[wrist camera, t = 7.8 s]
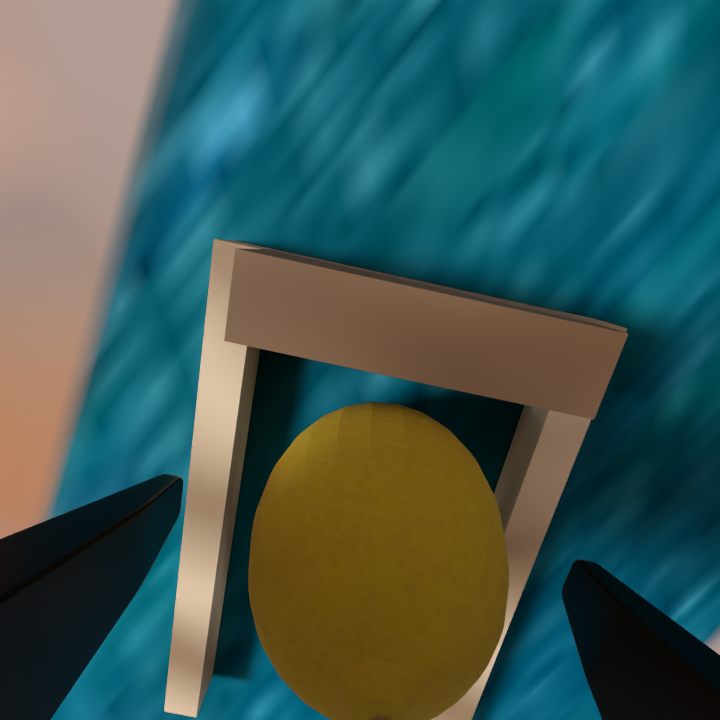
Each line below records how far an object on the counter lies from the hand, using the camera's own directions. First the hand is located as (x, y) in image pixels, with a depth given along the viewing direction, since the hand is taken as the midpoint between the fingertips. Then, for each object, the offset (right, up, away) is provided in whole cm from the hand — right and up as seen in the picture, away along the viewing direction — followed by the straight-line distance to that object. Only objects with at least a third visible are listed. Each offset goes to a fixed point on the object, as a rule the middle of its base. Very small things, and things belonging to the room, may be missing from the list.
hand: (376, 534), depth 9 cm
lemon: (0, +1, +4) cm, 5 cm away
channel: (0, -2, +5) cm, 5 cm away
